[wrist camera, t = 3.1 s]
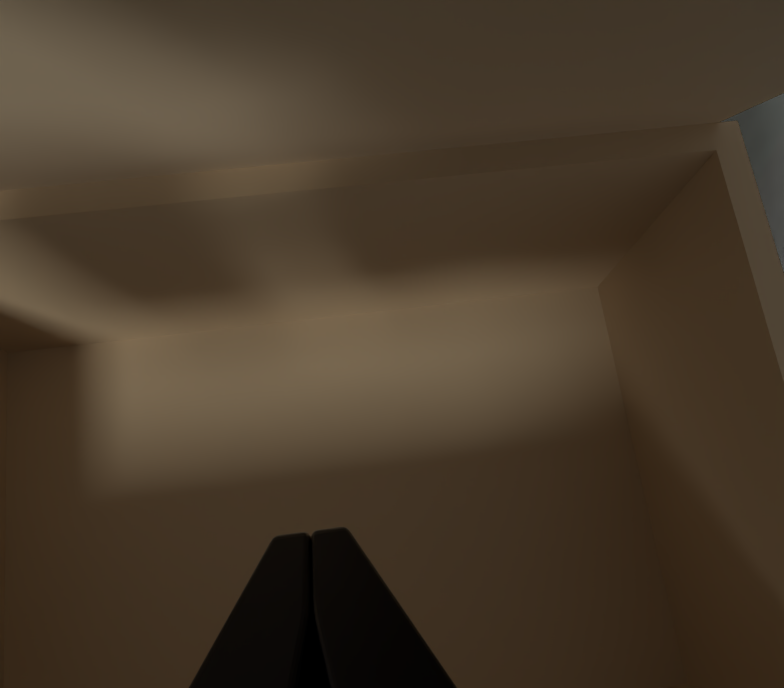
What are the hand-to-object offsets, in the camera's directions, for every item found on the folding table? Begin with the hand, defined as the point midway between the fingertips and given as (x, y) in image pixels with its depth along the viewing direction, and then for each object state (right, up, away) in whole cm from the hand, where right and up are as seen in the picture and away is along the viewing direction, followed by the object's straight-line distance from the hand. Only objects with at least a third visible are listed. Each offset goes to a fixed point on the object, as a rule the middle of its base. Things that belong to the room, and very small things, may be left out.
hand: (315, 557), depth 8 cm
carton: (-1, -2, +12) cm, 12 cm away
